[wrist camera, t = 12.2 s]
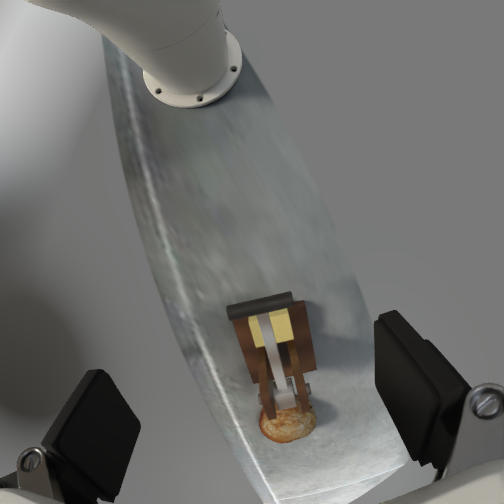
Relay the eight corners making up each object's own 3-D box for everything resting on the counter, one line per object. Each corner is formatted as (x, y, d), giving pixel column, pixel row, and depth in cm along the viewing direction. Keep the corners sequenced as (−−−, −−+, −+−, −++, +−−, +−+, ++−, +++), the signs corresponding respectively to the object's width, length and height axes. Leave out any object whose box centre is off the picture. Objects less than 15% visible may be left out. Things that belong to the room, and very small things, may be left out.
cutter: (232, 316, 39) (226, 375, 27) (303, 299, 39) (325, 354, 27) (253, 379, 43) (255, 441, 30) (315, 365, 42) (333, 424, 30)
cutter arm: (226, 300, 27) (225, 313, 25) (289, 285, 27) (293, 298, 24) (261, 399, 32) (262, 413, 30) (309, 388, 32) (313, 403, 29)
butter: (248, 310, 38) (248, 322, 35) (285, 301, 38) (288, 313, 34) (255, 334, 39) (256, 347, 36) (290, 326, 39) (294, 339, 36)
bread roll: (315, 396, 48) (334, 411, 41) (290, 439, 46) (306, 459, 39) (270, 380, 47) (285, 396, 39) (245, 427, 45) (255, 448, 37)
